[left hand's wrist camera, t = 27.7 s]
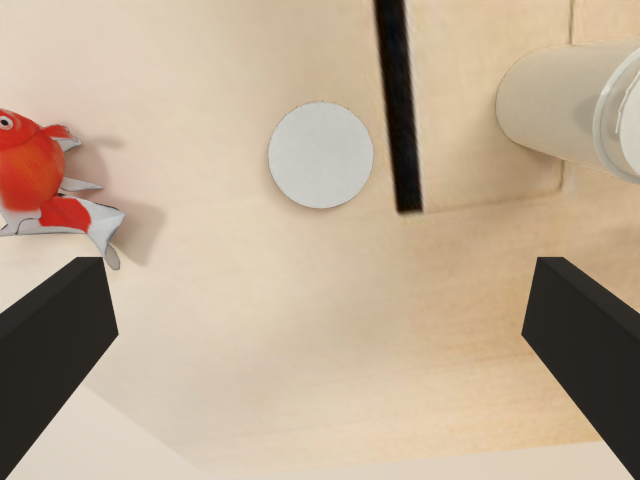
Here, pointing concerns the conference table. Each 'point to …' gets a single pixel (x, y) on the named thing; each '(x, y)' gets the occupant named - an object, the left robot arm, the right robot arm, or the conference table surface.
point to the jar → (578, 104)
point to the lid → (320, 155)
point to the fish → (48, 186)
